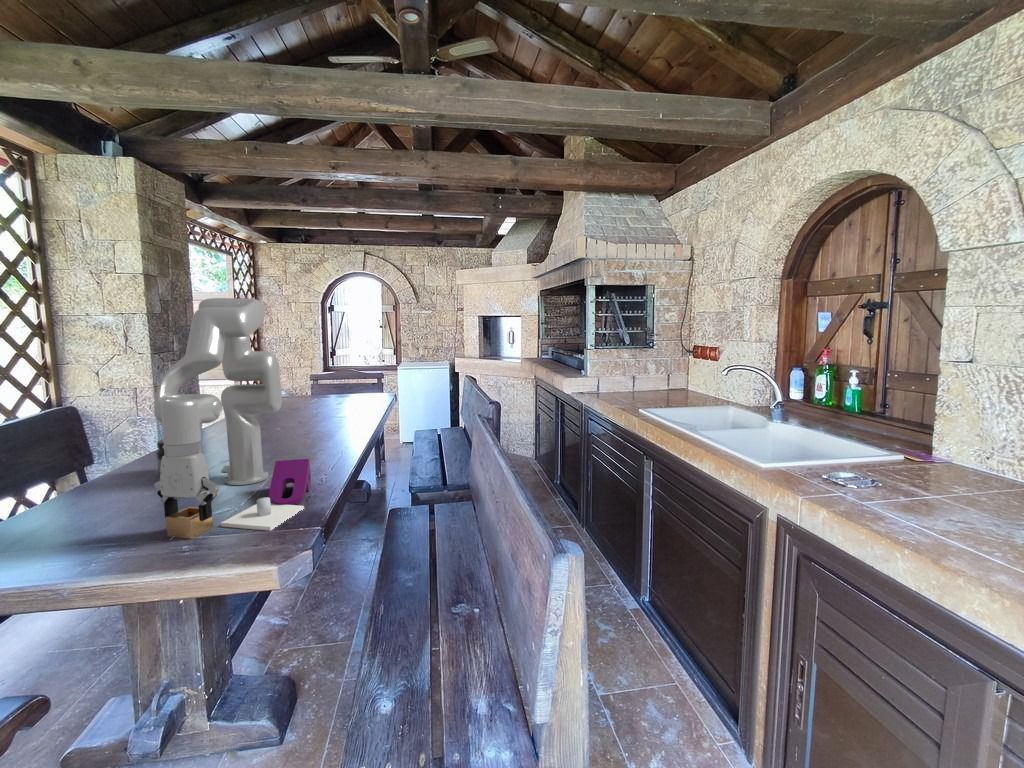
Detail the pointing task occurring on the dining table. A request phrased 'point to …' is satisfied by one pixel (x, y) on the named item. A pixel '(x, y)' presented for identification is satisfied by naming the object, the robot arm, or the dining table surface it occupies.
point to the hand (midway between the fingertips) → (188, 517)
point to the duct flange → (262, 515)
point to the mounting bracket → (290, 481)
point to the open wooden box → (187, 523)
